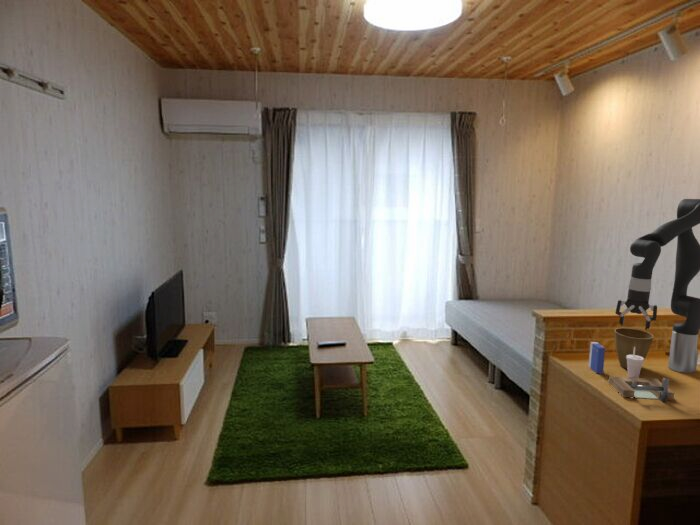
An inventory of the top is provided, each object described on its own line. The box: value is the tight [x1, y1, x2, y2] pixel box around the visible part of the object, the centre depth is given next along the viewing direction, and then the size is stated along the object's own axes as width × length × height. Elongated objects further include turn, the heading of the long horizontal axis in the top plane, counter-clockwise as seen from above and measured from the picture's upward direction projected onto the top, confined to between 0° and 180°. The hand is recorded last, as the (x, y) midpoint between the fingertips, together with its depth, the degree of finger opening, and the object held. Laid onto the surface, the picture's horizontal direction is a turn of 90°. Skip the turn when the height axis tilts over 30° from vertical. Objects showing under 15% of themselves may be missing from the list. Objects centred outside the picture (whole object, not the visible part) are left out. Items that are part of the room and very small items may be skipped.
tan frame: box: [608, 375, 675, 401], centre depth 180 cm, size 18×13×3 cm
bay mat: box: [632, 388, 659, 400], centre depth 179 cm, size 9×9×1 cm
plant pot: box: [614, 327, 654, 369], centre depth 204 cm, size 15×15×16 cm
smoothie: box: [626, 347, 645, 378], centre depth 191 cm, size 6×6×14 cm
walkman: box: [588, 341, 606, 374], centre depth 201 cm, size 8×3×12 cm, turn 176°
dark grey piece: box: [632, 377, 670, 403], centre depth 172 cm, size 13×2×9 cm, turn 82°
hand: (633, 327), depth 187 cm, fingers open, 8 cm apart
